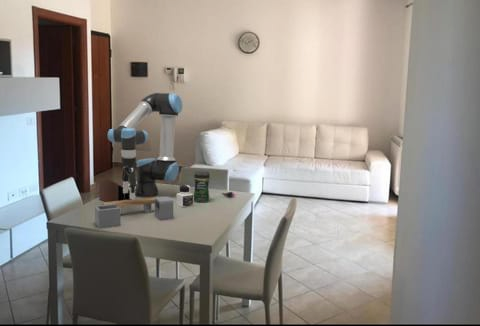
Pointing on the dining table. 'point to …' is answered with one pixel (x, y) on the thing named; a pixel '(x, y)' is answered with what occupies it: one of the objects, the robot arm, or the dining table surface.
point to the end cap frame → (111, 213)
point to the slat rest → (147, 208)
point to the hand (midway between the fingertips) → (128, 195)
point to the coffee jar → (201, 186)
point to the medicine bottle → (184, 197)
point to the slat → (132, 202)
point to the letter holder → (112, 191)
